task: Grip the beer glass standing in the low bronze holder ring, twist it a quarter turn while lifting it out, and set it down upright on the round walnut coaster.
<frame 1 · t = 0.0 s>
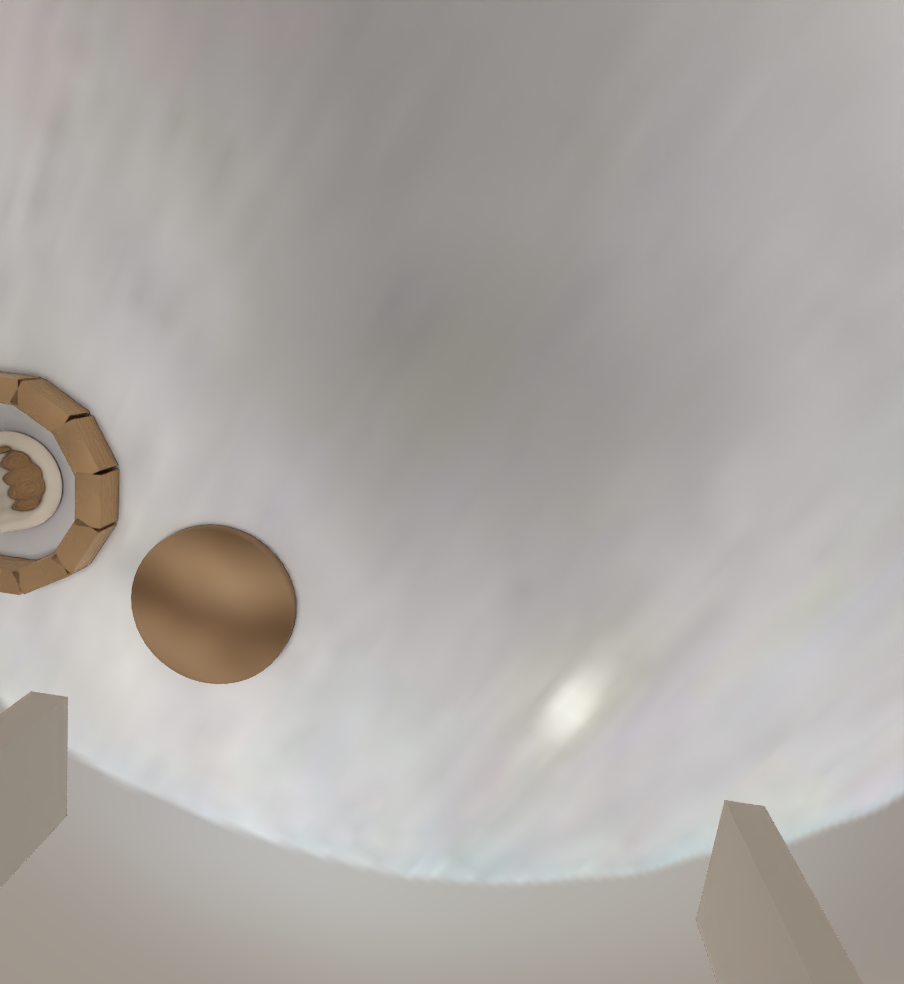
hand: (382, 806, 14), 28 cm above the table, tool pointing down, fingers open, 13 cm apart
beer glass: (17, 479, 43), resting in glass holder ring
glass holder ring: (15, 480, 43), on the table
walnut coaster: (217, 602, 44), on the table
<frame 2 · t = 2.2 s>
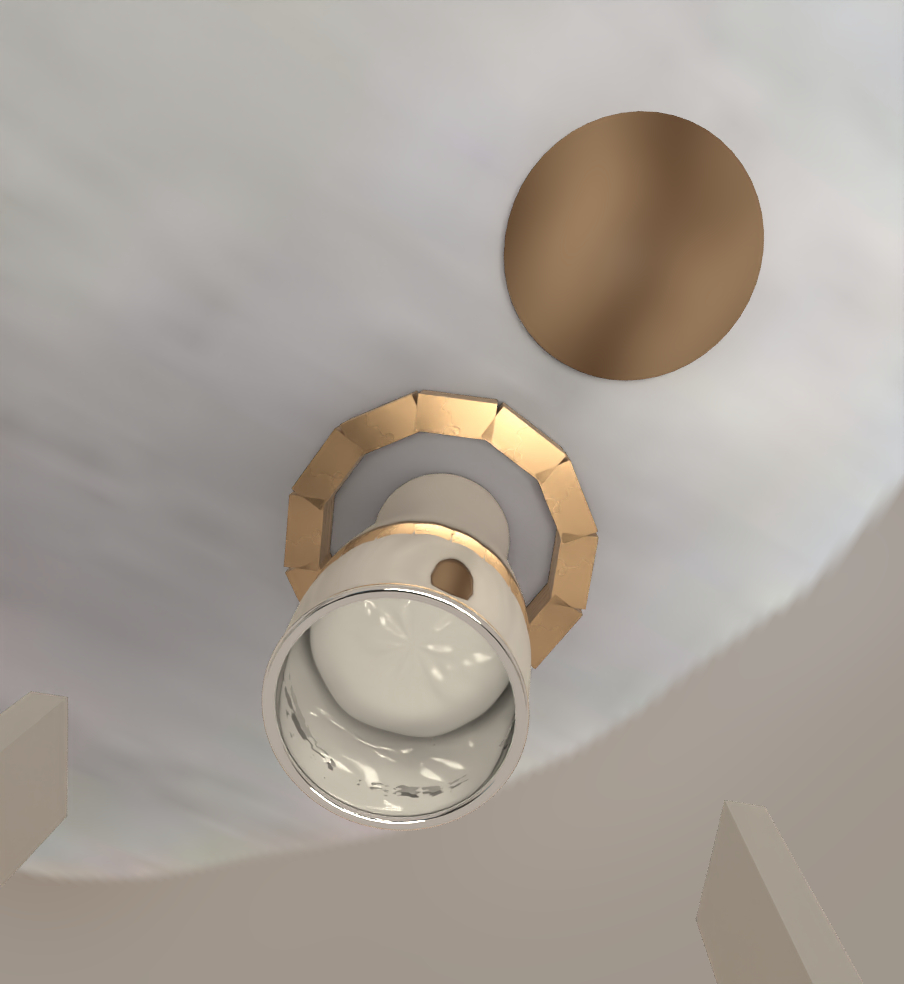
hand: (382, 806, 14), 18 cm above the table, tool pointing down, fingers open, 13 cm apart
beer glass: (442, 537, 32), resting in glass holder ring
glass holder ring: (441, 538, 32), on the table
walnut coaster: (627, 254, 28), on the table
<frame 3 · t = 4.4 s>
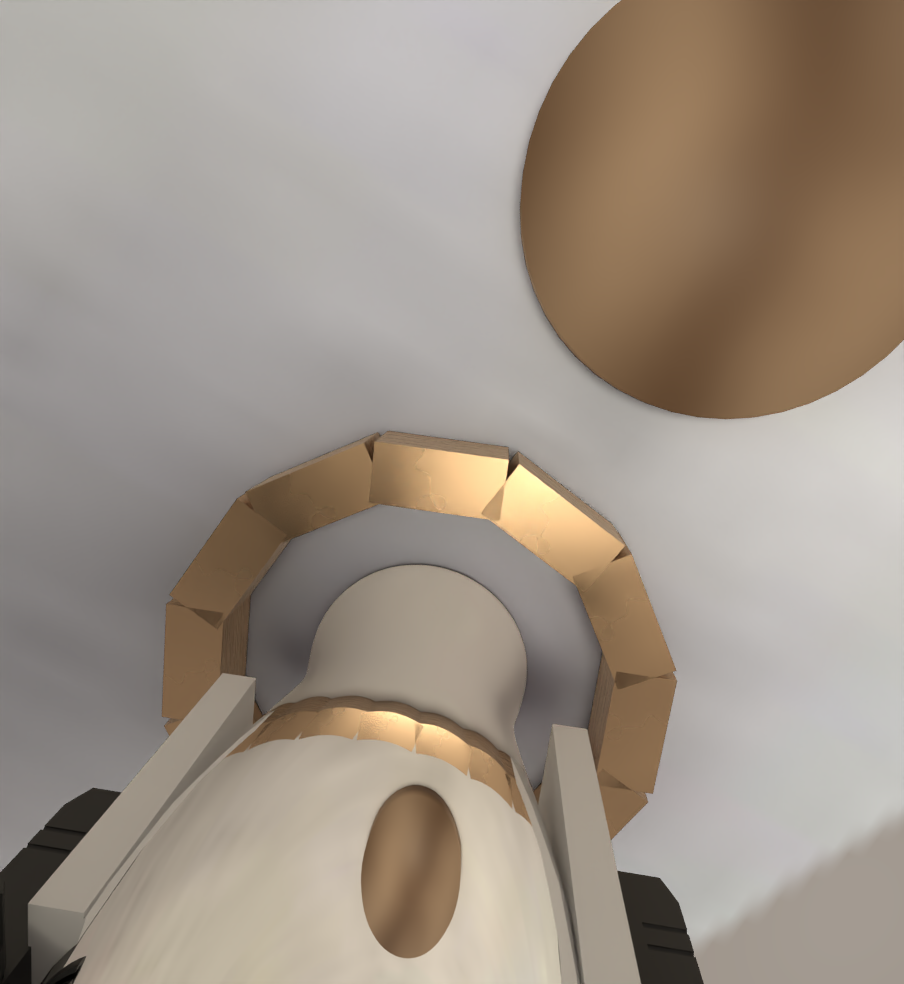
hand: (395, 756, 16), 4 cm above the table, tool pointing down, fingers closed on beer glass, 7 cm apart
beer glass: (420, 661, 20), resting in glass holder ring, touching gripper
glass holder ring: (419, 664, 20), on the table
walnut coaster: (729, 206, 17), on the table
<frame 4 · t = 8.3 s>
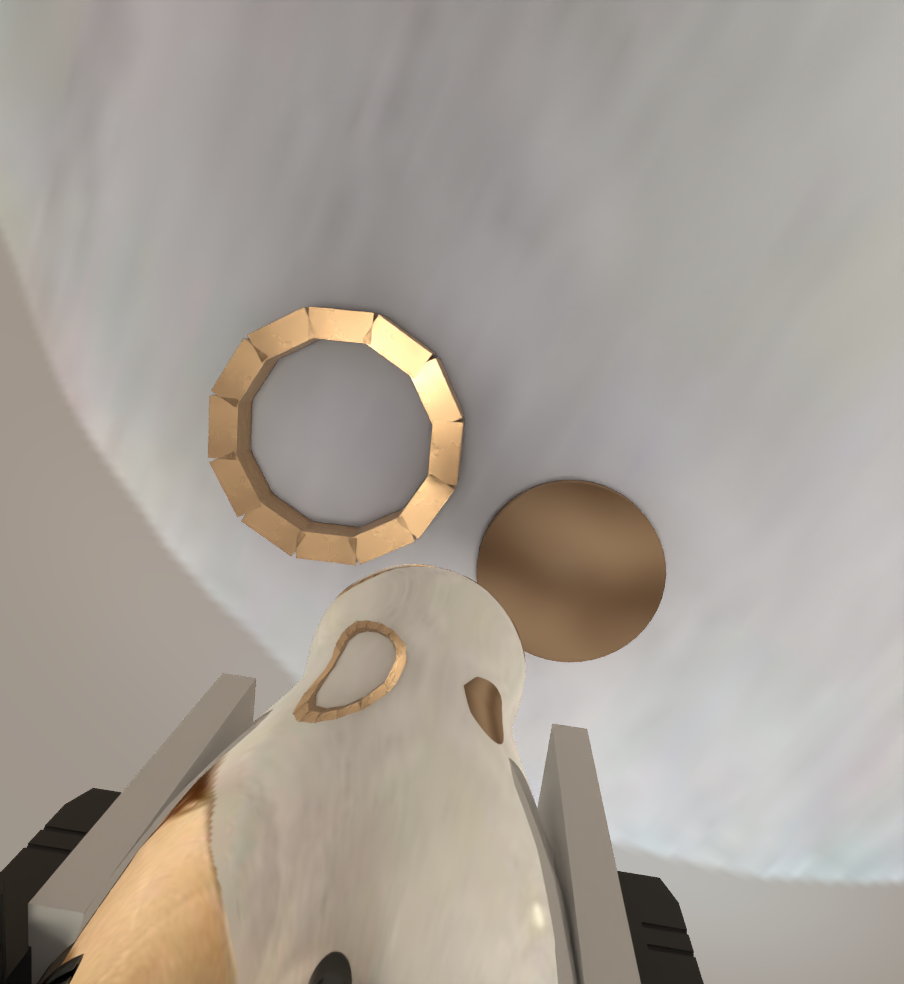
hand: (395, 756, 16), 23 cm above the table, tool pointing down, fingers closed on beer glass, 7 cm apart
beer glass: (419, 661, 20), point 18 cm above the table, touching gripper
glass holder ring: (341, 435, 38), on the table
walnut coaster: (568, 569, 38), on the table
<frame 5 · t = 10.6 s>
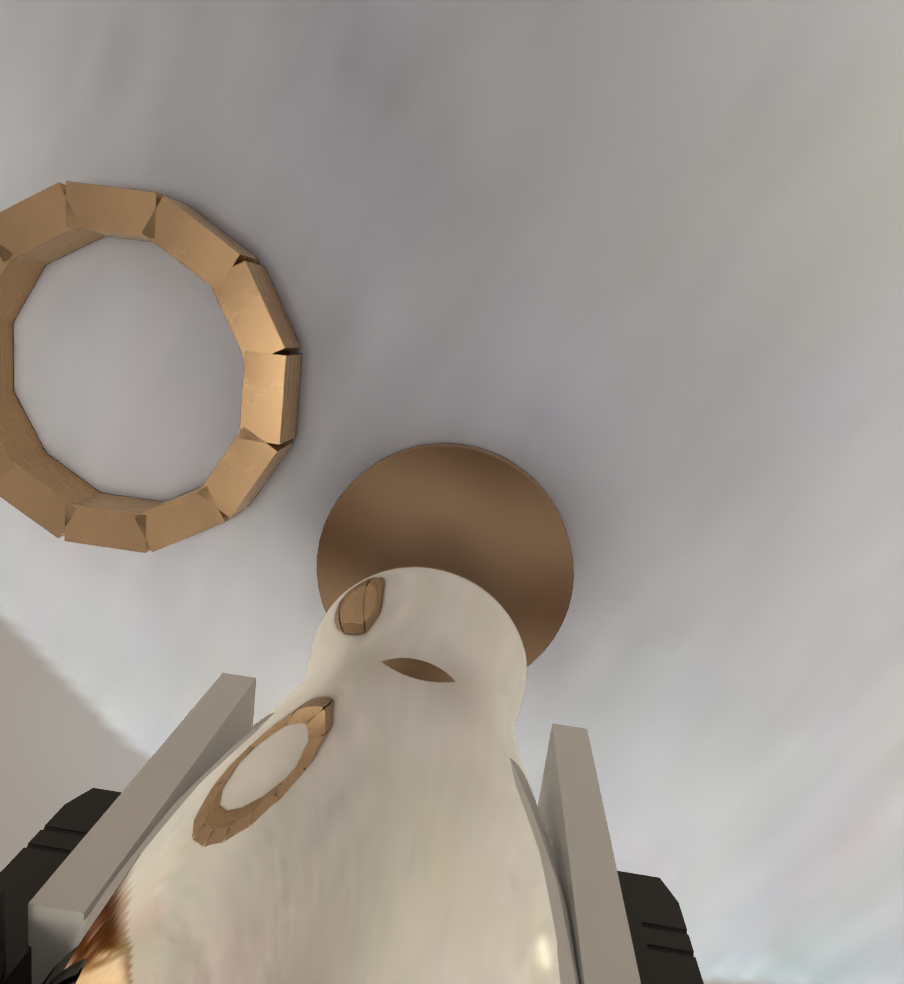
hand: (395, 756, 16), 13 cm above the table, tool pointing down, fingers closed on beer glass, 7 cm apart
beer glass: (420, 663, 20), point 8 cm above the table, touching gripper
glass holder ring: (135, 374, 27), on the table
walnut coaster: (445, 566, 28), on the table
when the fingers open (7 cm above the table, at t = 12.6 s): beer glass drops 1 cm, resting on walnut coaster.
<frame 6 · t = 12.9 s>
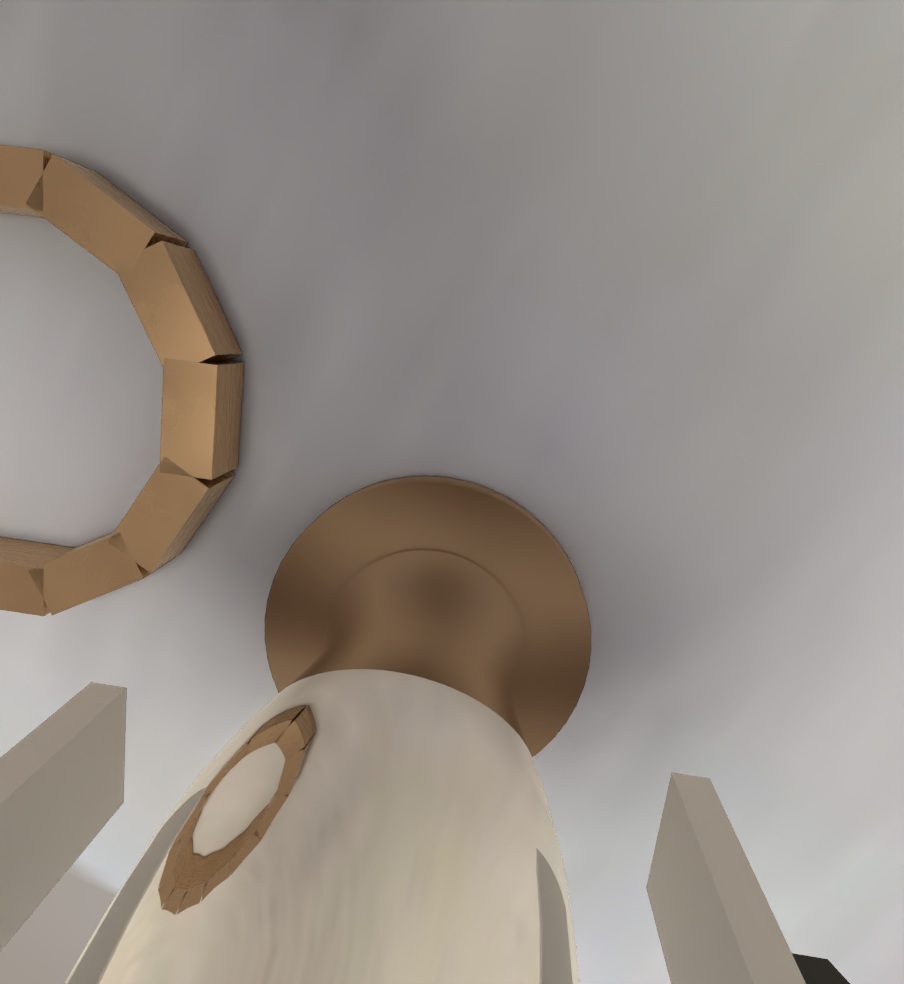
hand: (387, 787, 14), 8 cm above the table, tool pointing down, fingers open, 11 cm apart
beer glass: (426, 640, 22), point 1 cm above the table, touching walnut coaster
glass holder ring: (34, 387, 22), on the table
walnut coaster: (428, 629, 22), on the table
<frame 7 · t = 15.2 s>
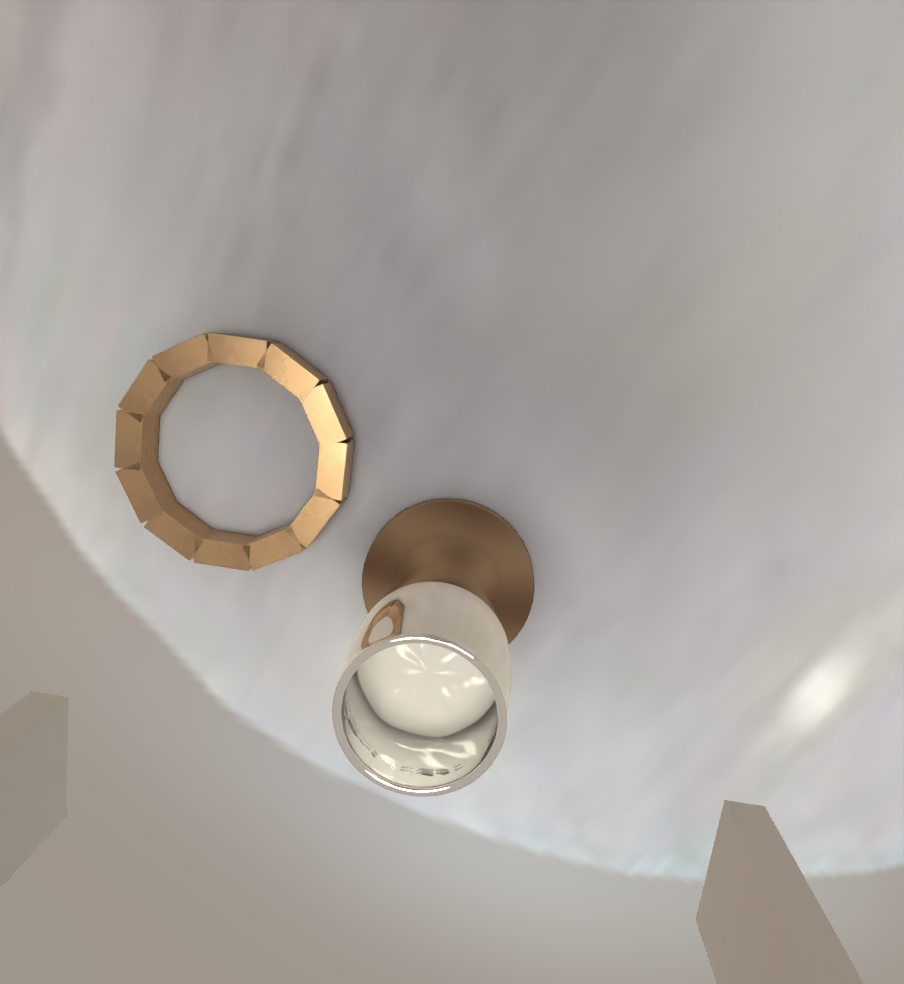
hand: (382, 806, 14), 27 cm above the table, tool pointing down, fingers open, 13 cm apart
beer glass: (447, 585, 41), point 1 cm above the table, touching walnut coaster
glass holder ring: (242, 450, 41), on the table
walnut coaster: (448, 581, 42), on the table
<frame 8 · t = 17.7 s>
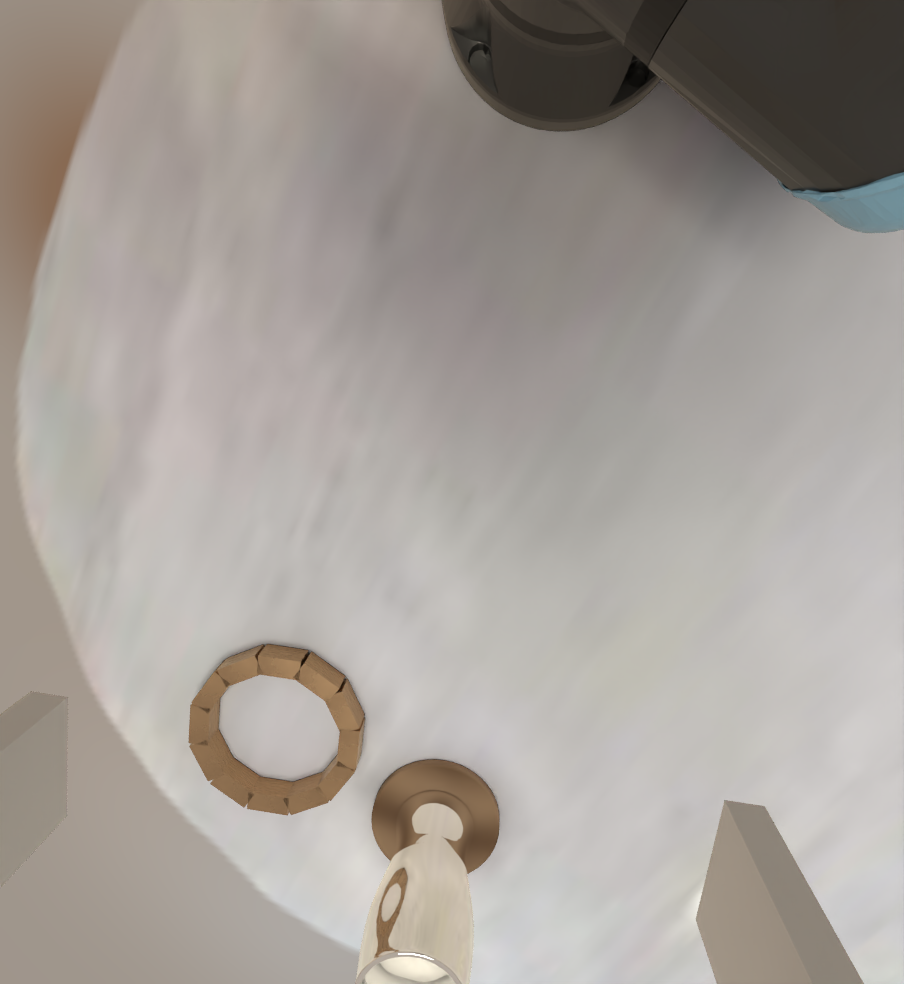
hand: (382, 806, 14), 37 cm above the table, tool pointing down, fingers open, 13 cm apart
beer glass: (435, 822, 55), point 1 cm above the table, touching walnut coaster
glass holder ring: (281, 723, 55), on the table
walnut coaster: (436, 816, 56), on the table
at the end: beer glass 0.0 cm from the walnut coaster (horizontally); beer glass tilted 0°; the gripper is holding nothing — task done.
